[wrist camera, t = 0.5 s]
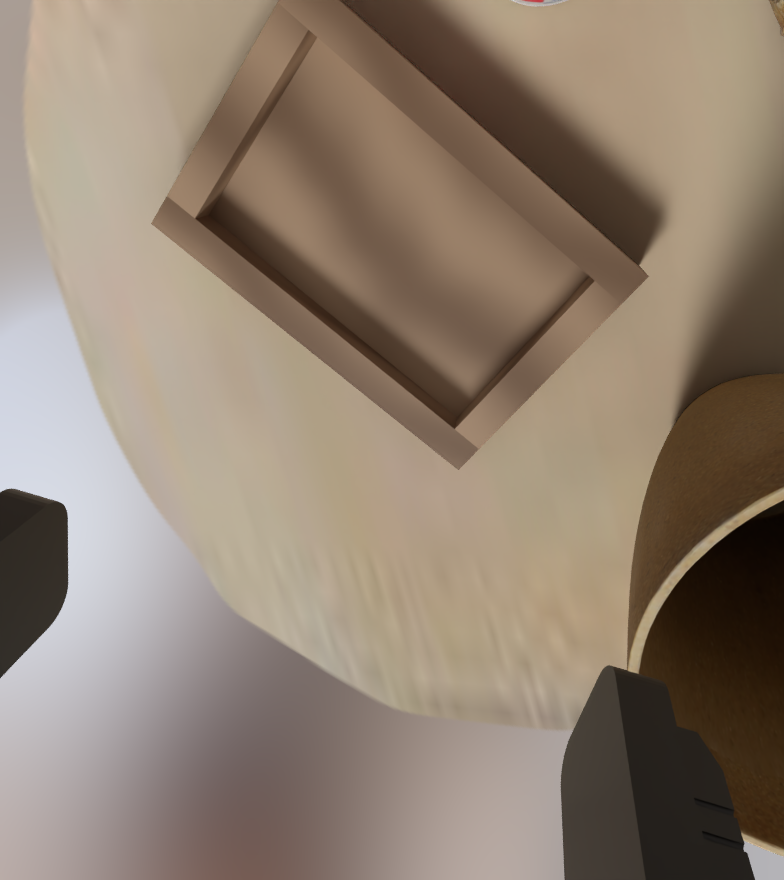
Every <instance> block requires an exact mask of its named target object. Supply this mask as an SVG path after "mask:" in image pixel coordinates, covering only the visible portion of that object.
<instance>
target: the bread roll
mask: <svg viewBox="0 0 784 880" xmlns="http://www.w3.org/2000/svg"><path fill="white" fill-rule="evenodd" d="M769 1H770V4H771V6H772V9H773V11H774V13H775V16H776V18H777V20H778V22H779V24H780V27H781V30H780V33H781V35H782V36H784V0H769Z"/></svg>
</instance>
